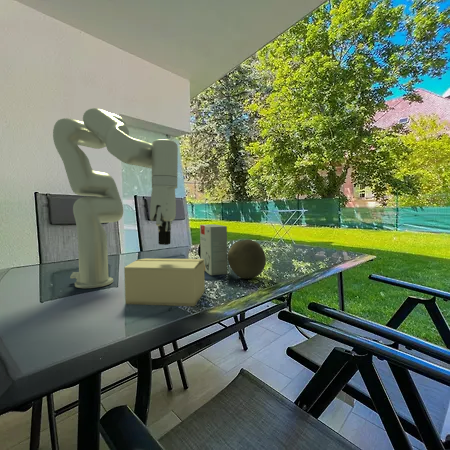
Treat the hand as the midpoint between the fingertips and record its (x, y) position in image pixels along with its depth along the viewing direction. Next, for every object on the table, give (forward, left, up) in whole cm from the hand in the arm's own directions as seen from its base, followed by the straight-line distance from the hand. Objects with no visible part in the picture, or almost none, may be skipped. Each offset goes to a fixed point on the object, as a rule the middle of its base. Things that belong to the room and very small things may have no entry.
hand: (164, 244), depth 82 cm
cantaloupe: (+24, +23, -16) cm, 37 cm away
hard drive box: (+9, +36, -17) cm, 41 cm away
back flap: (+1, +3, -6) cm, 7 cm away
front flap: (+1, -4, -6) cm, 7 cm away
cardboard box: (+1, 0, -16) cm, 16 cm away
